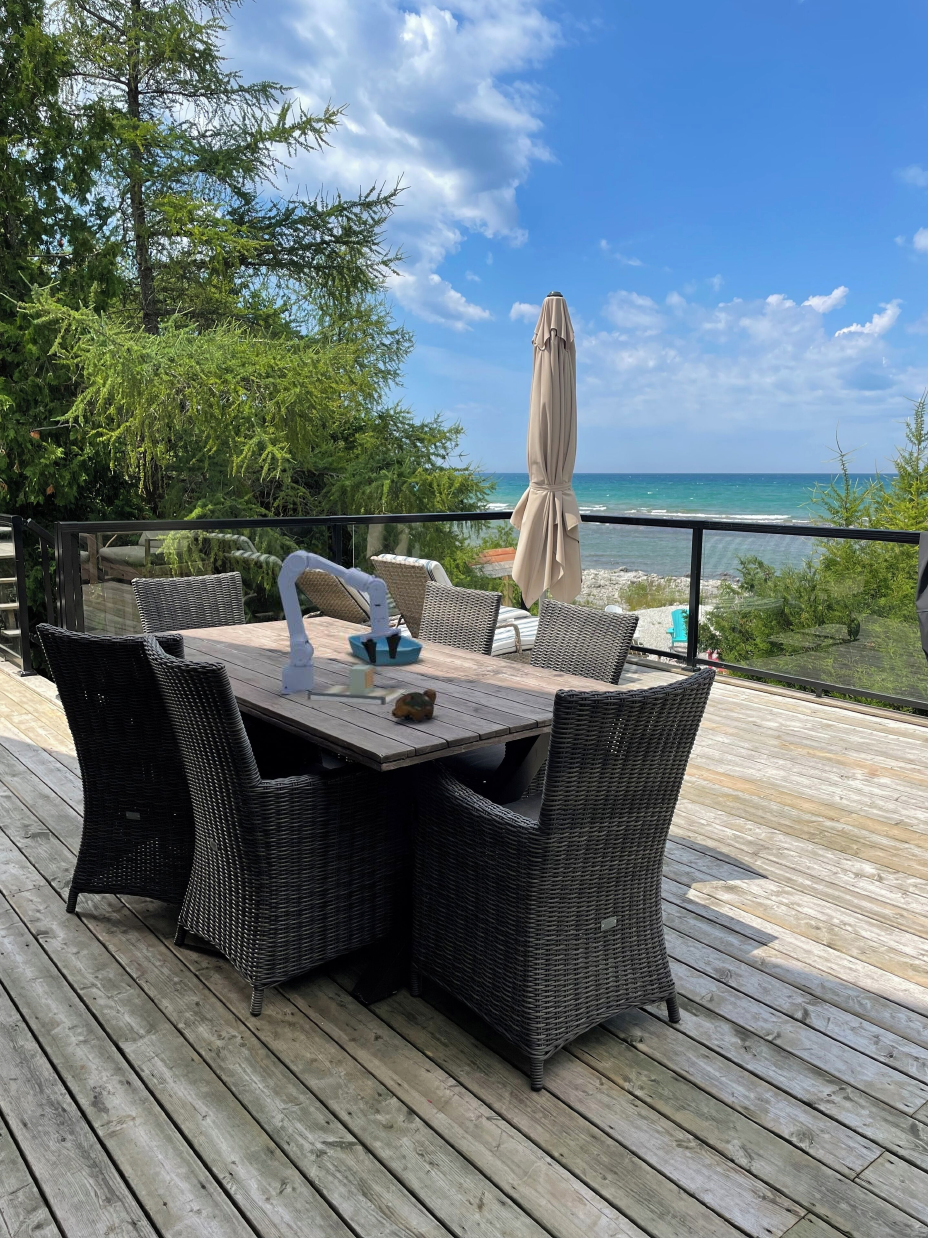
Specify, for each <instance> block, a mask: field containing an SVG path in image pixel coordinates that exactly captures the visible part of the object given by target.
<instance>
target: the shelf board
mask: <svg viewBox="0 0 928 1238" xmlns="http://www.w3.org/2000/svg"><path fill="white" fill-rule="evenodd" d="M406 691H407V689H399V688H398V689H397V688H396V689H395V688H383V687H382V688H381V687H380V688H378V687H373V691H372V692H370V693H368V694H367V696H382V697H386V704H388V703H389V702H391V701H392V700H393V699H395V698H397V697H398V696H400V695H401V694H402V693H404V692H406ZM320 692H321V693H336V694H350V693H349V685H332V686H330V687H328V688H326V689H324V690H323V691H320Z"/></svg>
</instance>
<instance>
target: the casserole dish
mask: <svg viewBox="0 0 928 1238" xmlns="http://www.w3.org/2000/svg"><path fill="white" fill-rule="evenodd" d="M363 634H364V633H360V634H355V635H350V636H347V640H348V644H349V646H350V649H351V651H352V653H353V654H354V655H355V656H357V657H359V658H360V659H362V660H364V661H365V662H367V663H369V664H370V665H373V666H379V667H383V666H387V667H388V666H396V665H398V666H399V665H407V664H408V665H409V664H414V663H416V662H417V661H418V659H419V657H420V655H421V652H422V649H423V646H424V645H423V644H422V643H420V642H418V641H416V640H414V639H412V638H410V637H408V636H405V635H402V634H401V635H399V636H401V640H400V642H399V645H398V648H397V653H396V659H390V656H389V648H388V643H387V640H386V637H384V638H379V639H374V640H373V641H374V642H377V646H376V663H375V664H374V663H370V660H369V657H368V654H367V652H366V650H365V648H364V647H363V645H362V644H361V641H360V635H363ZM378 637H379V636H378Z"/></svg>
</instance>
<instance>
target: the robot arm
mask: <svg viewBox="0 0 928 1238" xmlns="http://www.w3.org/2000/svg"><path fill="white" fill-rule="evenodd" d="M307 569H308V571H314V570H315V571H316V570H320V571H322V572H325V573H328V574H330V575H333V576H335V577H338V578H340V579H342V580H343V582H344V584H345V585H346V586H348V587H350V588H353V589H354V590H357V591H358V592H361V593H367V595H368V597H369V598H368V599H369V604H368V606H369V617H370V628H371V629H370V631H371V632H367V633H362V634H363V635H360V641H361V644H362V645H363V647H364V648H365V650H366V652H367V654H368V657H369V660H370V663H369V664H371V663H374V664H375V663H376V646H377V642H374V641H373V640H374V639H379V638H384V637H386V640H387V643H388V648H389V656H390V659H396V653H397V648H398V645H399V642H400V640H401V636H399V635H402V628H399V627H395V628H390V627H391V626H390V615H389V603H388V597H387V591H388V590H387V589H388V586H387V583H386V582H385V580H383V579H382V578H381V577H376V575H374V574H372V575H370V574H369V573H366V572H364V571H362V569H361V568H359V567H356V568H355V567H350V568H349V569H347V568H345V567H343V566H340V565H338V564H337V563H335V562H332V561H330V560H328V559H326V558H324V557H322V556H320V555H318V554H315V553H312V552H308V551H306V550H303V549H299V550H296V551H294V552H291V553H289V555H288V556H287V557H286V558H285V559H284V560H283V563H282V566H281V568H280V572H279V575H278V577H277V585H278V589H279V594H280V598H281V603H282V607H283V612H284V616H285V621H286V625H287V629H288V633H289V647H290V650H289V655H288V656H289V659H290V660H289V661H290V663H287V664H284V665H283V667H282V670H281V685H282V686H281V687H282V689H281V692H280V693H281V694H283V695H291V694H293V693H296V692H298V691H311V690H313V689H315V664H314V661H313V660H312V657H313V656H314V654H315V648H314V646H313V645H312V643H311V642H310V639H309V636H308V634H307V632H306V627H305V625H304V621H303V620H304V619H303V615H302V610H301V607H300V602H299V599H298V593H297V589H296V584H295V583H296V581H297V580H298V579H299V577H300V576H301V574H302V573H303V572H305V571H306V570H307ZM378 636H379V637H378Z"/></svg>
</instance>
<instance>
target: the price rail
mask: <svg viewBox="0 0 928 1238" xmlns="http://www.w3.org/2000/svg"><path fill="white" fill-rule="evenodd" d="M321 692H322V691H320V692H318V691H308V692H307V700H309V701H310V700H311V701H323V702H336V703H337V702H339V703H354V704H369V705H386V704H387V703H386V697H382V696H367V695H352V694H336V693H321Z"/></svg>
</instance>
